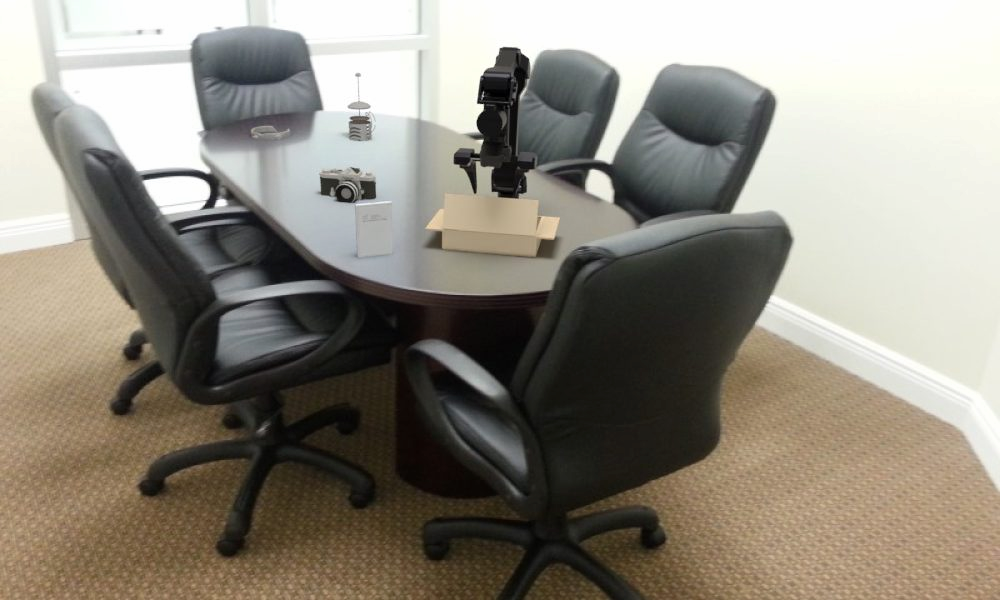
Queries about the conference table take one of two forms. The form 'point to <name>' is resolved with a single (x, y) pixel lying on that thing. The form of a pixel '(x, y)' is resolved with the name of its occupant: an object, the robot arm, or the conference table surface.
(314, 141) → the conference table surface
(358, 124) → the french press
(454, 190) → the conference table surface
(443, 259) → the conference table surface
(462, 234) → the carton
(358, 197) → the camera
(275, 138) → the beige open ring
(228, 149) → the conference table surface
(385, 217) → the hard drive
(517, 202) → the kraft flap
